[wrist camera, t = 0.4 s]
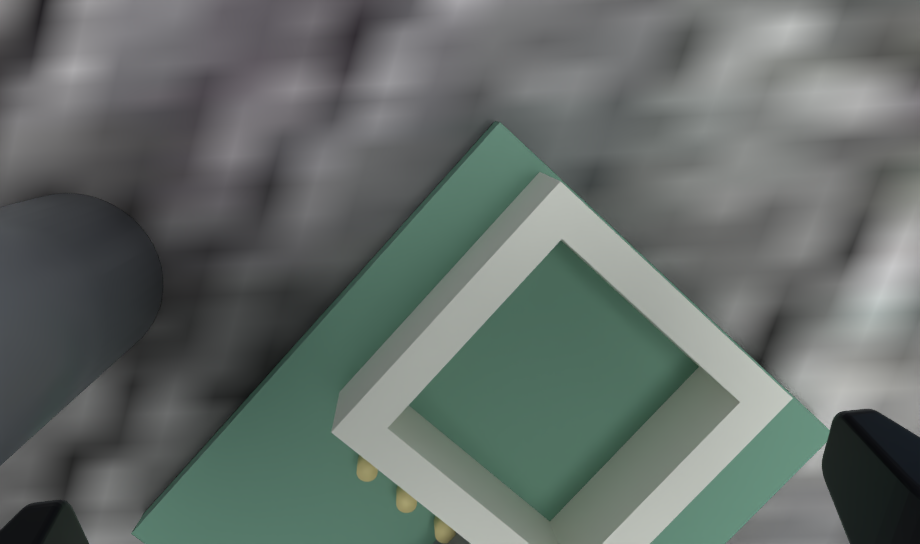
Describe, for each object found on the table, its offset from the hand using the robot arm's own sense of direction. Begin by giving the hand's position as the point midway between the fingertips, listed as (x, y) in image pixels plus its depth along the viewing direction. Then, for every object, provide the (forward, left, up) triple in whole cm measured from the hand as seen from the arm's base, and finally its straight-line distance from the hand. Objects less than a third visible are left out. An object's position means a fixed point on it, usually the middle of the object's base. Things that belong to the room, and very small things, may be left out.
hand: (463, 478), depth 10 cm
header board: (-4, -6, -15) cm, 17 cm away
